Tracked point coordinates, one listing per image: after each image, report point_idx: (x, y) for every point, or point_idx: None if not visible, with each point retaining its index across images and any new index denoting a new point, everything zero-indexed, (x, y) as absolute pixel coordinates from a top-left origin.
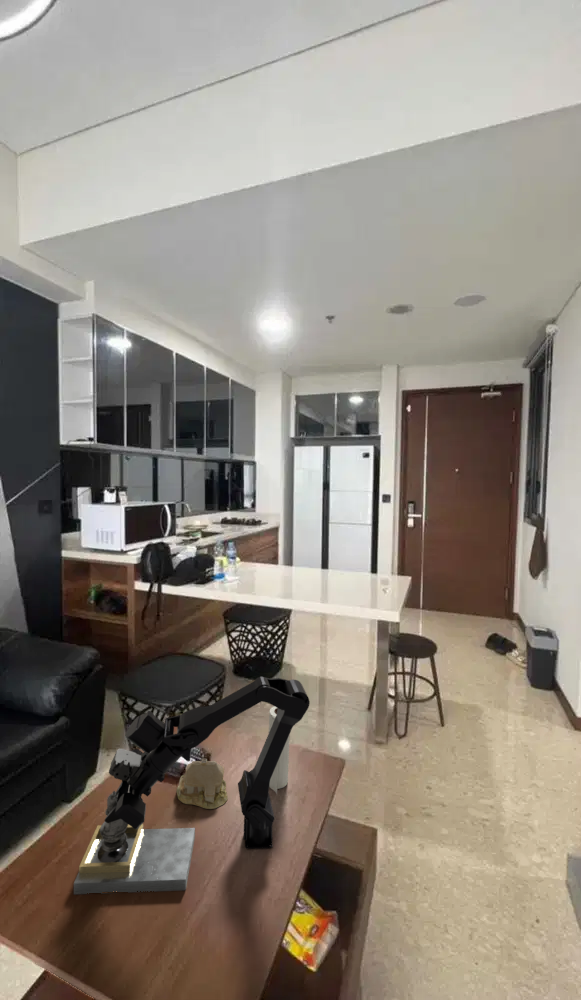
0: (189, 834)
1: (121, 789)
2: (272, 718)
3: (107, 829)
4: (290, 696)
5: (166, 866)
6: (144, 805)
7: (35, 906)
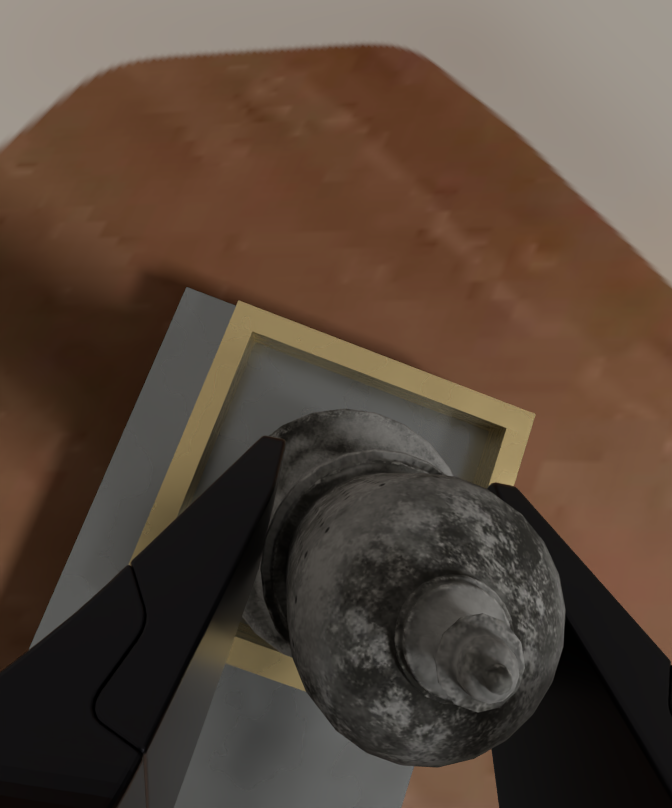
0: None
1: (630, 790)
2: None
3: (299, 473)
4: None
5: None
6: None
7: (211, 151)
